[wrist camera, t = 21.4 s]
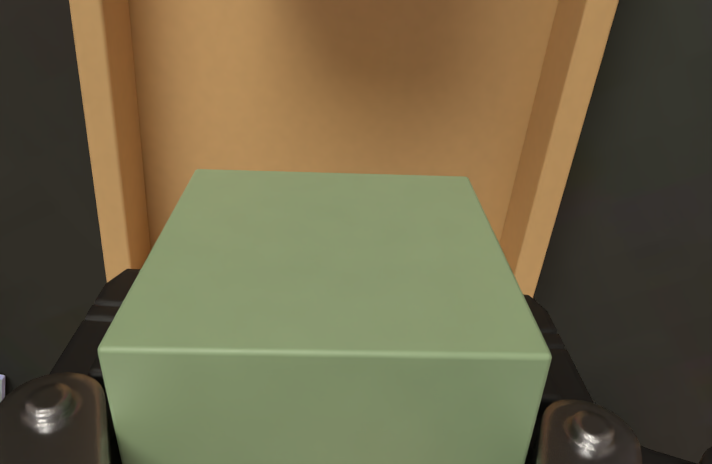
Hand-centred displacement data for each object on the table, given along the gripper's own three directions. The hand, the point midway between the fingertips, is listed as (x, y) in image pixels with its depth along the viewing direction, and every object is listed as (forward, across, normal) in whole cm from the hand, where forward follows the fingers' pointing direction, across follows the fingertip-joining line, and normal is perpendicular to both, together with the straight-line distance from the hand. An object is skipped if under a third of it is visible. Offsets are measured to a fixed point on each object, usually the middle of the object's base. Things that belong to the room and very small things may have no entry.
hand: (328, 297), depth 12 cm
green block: (0, 0, 0) cm, 0 cm away
